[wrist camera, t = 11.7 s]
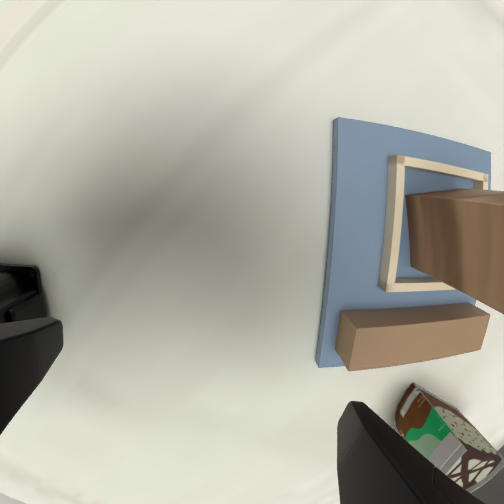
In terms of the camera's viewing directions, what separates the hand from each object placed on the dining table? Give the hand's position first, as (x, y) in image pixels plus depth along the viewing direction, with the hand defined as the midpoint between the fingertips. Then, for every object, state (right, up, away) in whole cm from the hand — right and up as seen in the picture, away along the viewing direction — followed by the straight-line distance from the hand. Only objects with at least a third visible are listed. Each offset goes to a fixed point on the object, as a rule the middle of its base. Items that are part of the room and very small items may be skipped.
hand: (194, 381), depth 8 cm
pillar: (+15, +5, +11) cm, 19 cm away
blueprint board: (+14, +4, +13) cm, 19 cm away
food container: (+18, -13, +17) cm, 28 cm away
